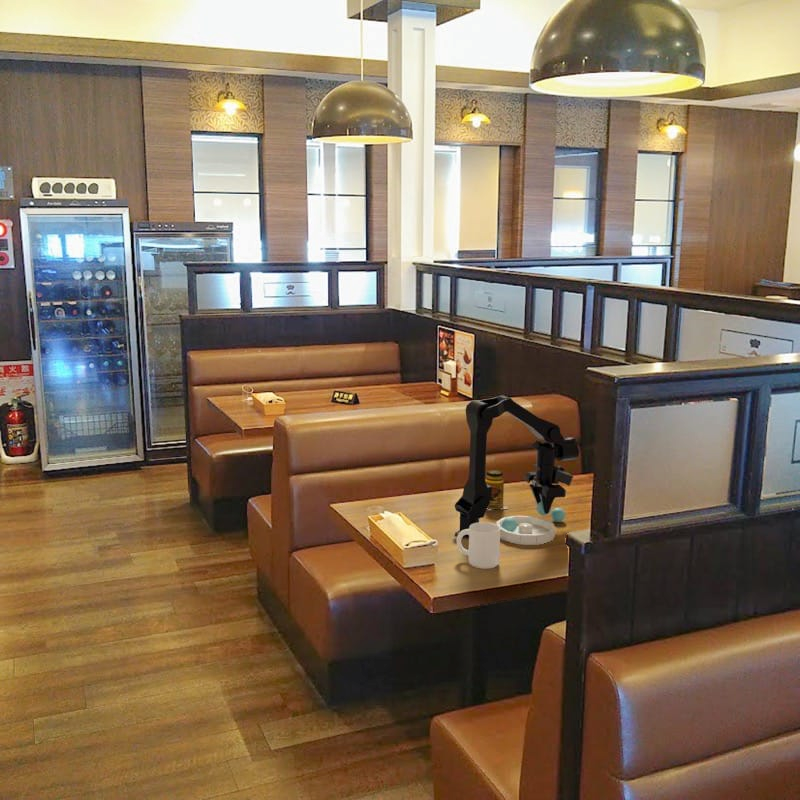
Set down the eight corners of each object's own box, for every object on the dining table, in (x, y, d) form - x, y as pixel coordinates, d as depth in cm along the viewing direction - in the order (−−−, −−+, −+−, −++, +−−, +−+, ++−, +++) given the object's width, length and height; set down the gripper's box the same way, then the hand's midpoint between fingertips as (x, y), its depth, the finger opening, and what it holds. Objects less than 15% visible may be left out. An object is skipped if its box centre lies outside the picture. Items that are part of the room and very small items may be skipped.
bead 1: (512, 535, 247) (513, 521, 246) (499, 532, 250) (499, 518, 249) (519, 531, 251) (519, 517, 250) (505, 528, 253) (506, 514, 252)
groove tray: (540, 549, 239) (540, 539, 238) (486, 537, 248) (486, 527, 247) (563, 532, 253) (563, 522, 252) (511, 521, 262) (511, 512, 261)
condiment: (487, 511, 271) (489, 475, 269) (477, 503, 279) (478, 468, 277) (508, 509, 274) (510, 473, 271) (498, 501, 282) (499, 466, 279)
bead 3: (561, 525, 259) (562, 511, 258) (548, 522, 261) (548, 508, 261) (567, 521, 263) (567, 507, 262) (553, 518, 265) (554, 505, 264)
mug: (450, 563, 228) (451, 527, 226) (461, 553, 235) (462, 518, 233) (493, 571, 223) (494, 534, 221) (502, 560, 230) (504, 524, 228)
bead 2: (547, 518, 258) (547, 504, 257) (533, 515, 260) (534, 501, 259) (552, 514, 261) (553, 500, 260) (539, 511, 264) (540, 498, 263)
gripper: (583, 469, 250) (580, 519, 253) (558, 453, 268) (556, 500, 271) (548, 471, 248) (545, 521, 251) (525, 454, 266) (523, 502, 269)
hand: (543, 511), depth 260 cm, fingers closed on bead 2, 4 cm apart
